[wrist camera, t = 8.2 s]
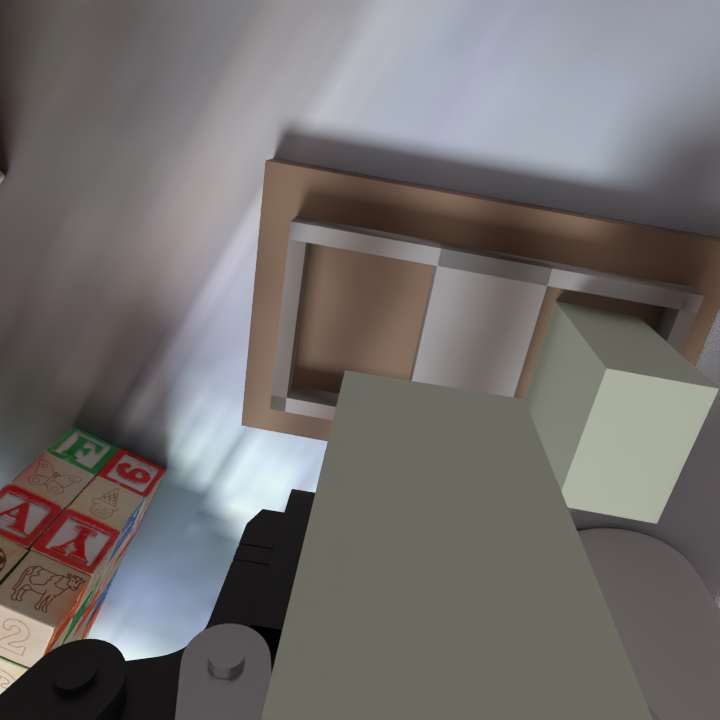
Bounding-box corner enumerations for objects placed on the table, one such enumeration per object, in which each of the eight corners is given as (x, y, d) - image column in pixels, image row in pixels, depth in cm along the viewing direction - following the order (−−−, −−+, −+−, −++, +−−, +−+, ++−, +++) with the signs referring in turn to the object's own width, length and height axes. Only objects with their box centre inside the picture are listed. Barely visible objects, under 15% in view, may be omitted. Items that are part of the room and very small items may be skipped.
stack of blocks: (72, 673, 44) (-47, 869, 32) (-8, 640, 43) (-157, 828, 32) (168, 466, 35) (54, 632, 24) (72, 421, 35) (-92, 569, 23)
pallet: (248, 412, 33) (233, 439, 31) (272, 158, 28) (257, 163, 25) (627, 482, 33) (647, 515, 30) (729, 240, 27) (764, 254, 25)
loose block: (315, 574, 15) (229, 1005, 8) (345, 369, 13) (260, 717, 6) (466, 600, 15) (519, 1057, 8) (524, 399, 13) (680, 789, 5)
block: (521, 409, 30) (555, 505, 23) (555, 300, 28) (606, 368, 20) (597, 423, 30) (656, 523, 23) (637, 315, 28) (719, 389, 20)
